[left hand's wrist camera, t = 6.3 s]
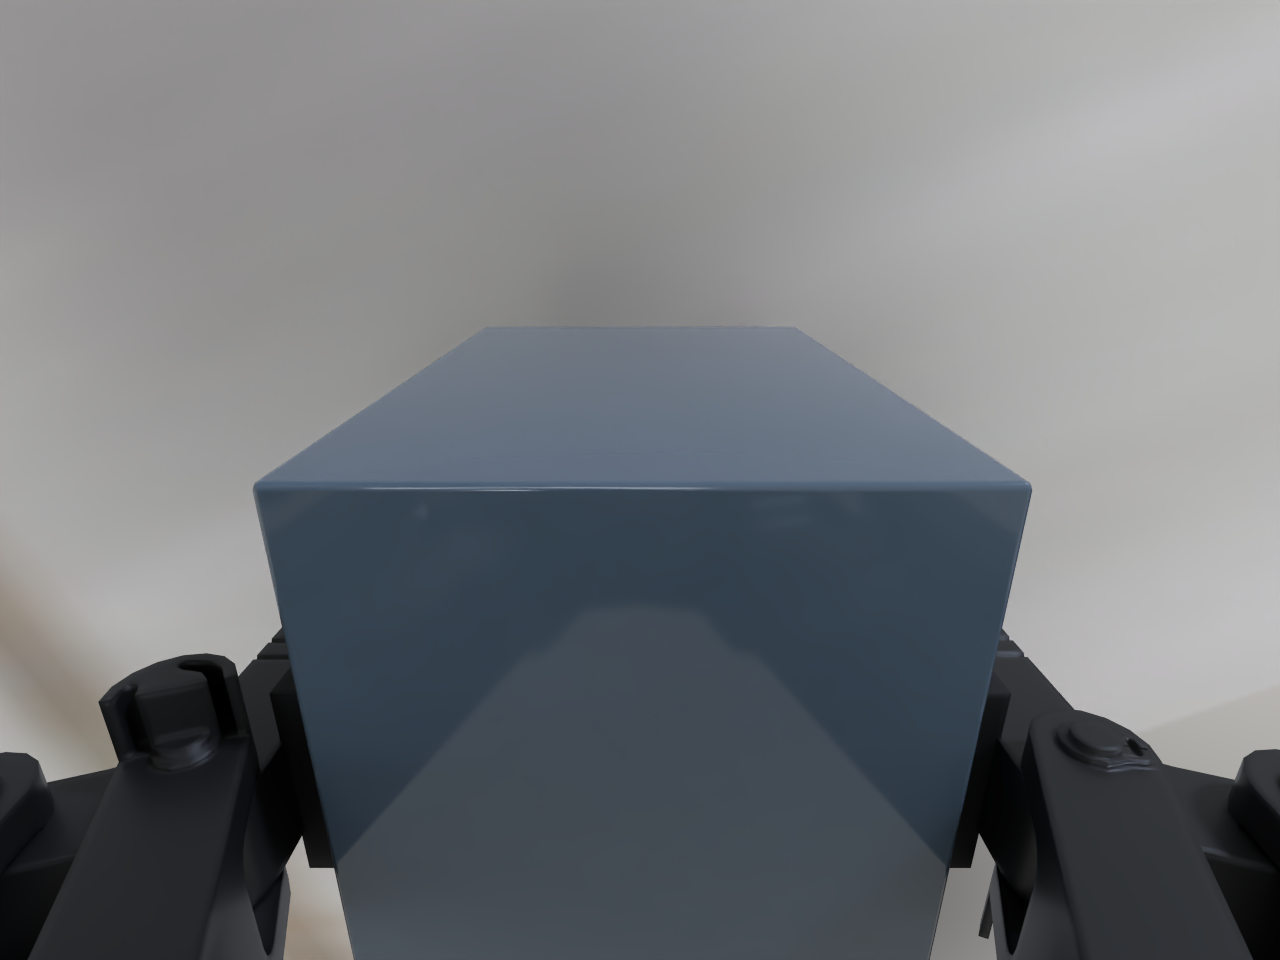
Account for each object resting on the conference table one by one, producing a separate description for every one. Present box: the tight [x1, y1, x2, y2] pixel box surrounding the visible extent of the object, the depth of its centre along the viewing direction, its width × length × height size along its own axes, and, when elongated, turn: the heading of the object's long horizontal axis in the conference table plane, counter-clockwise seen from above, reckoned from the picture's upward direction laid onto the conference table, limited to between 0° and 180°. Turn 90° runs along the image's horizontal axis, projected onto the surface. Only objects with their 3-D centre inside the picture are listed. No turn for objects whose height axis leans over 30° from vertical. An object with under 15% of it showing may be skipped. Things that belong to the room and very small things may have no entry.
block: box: [253, 327, 1032, 960], centre depth 12 cm, size 7×8×10 cm
